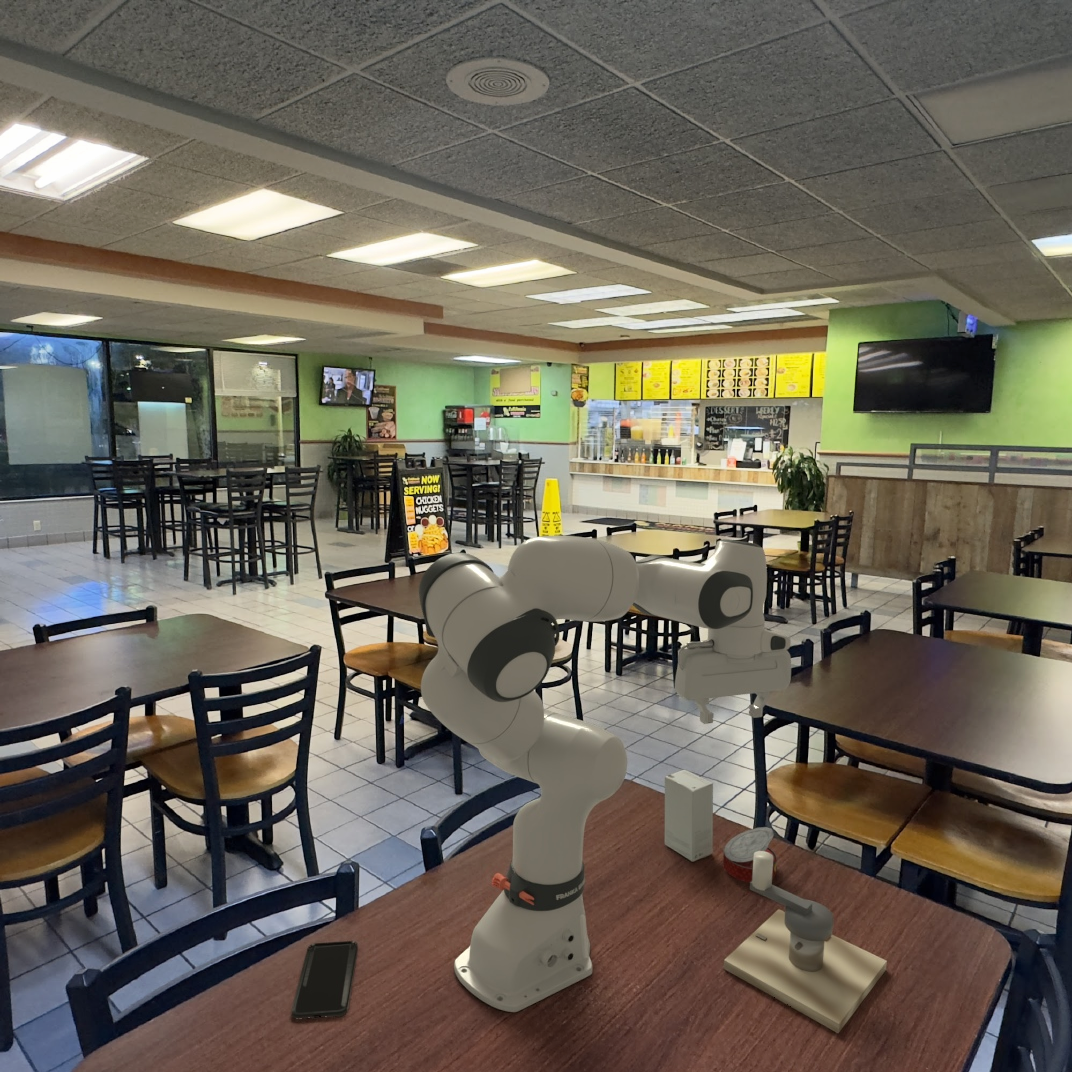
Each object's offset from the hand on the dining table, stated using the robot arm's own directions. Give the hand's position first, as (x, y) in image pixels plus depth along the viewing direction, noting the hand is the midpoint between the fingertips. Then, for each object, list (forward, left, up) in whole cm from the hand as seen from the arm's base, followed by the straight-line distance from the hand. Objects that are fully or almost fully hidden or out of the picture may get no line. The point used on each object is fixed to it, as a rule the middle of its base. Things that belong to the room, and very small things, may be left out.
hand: (731, 719), depth 126 cm
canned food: (+17, +4, -36) cm, 40 cm away
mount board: (-2, -16, -36) cm, 39 cm away
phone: (-56, +34, -36) cm, 75 cm away
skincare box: (+14, +16, -36) cm, 42 cm away
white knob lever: (-2, -13, -28) cm, 31 cm away
